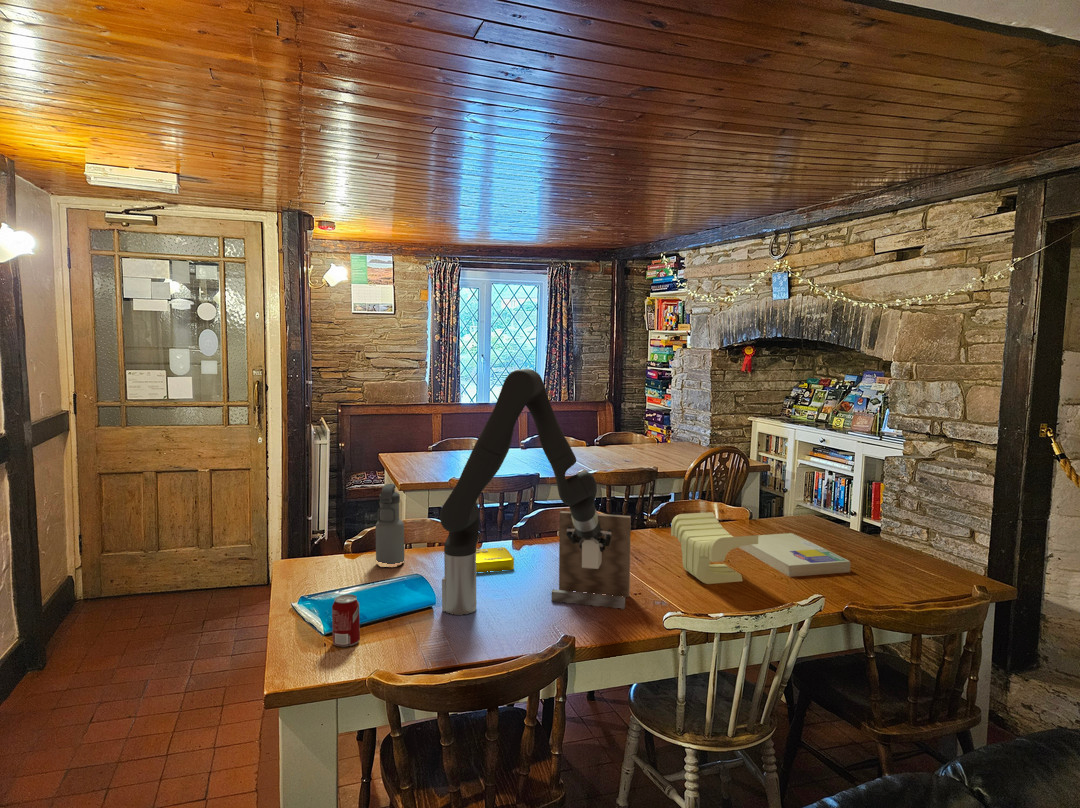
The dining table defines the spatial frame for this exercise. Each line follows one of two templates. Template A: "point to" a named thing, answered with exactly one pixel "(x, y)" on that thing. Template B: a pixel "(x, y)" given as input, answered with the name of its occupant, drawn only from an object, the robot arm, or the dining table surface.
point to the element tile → (493, 559)
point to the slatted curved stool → (707, 546)
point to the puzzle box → (796, 555)
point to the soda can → (345, 620)
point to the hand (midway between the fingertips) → (593, 548)
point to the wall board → (599, 581)
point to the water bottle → (389, 527)
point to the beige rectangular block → (591, 555)
